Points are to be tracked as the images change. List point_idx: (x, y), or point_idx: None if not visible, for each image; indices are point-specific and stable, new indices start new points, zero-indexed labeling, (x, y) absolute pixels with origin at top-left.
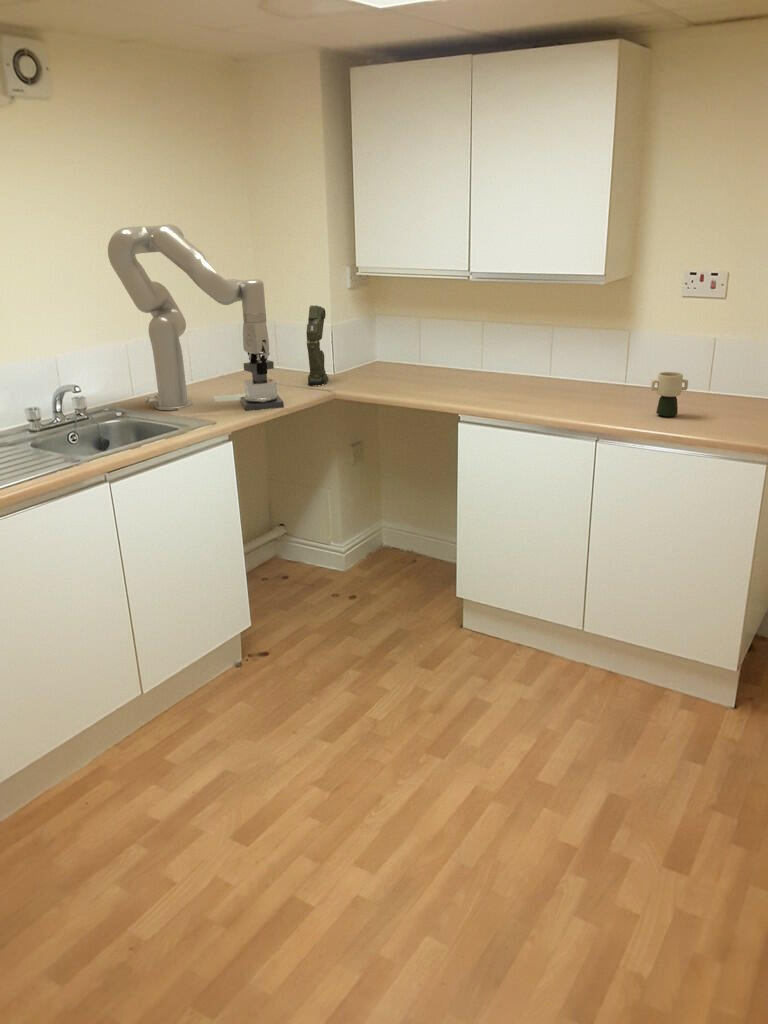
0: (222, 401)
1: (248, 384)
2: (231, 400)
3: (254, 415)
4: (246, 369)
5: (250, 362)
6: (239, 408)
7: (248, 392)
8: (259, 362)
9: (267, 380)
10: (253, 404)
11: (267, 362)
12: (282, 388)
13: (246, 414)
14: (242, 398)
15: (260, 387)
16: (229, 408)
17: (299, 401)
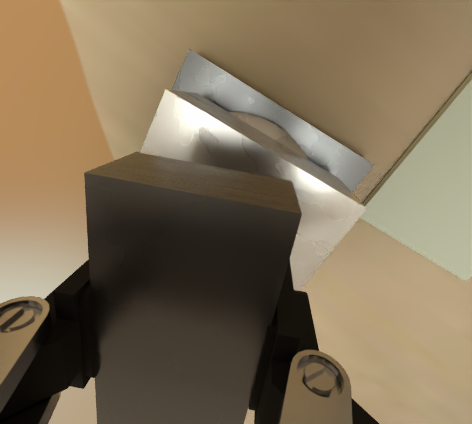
0: (462, 91)
1: (180, 108)
2: (427, 141)
3: (81, 23)
4: (222, 172)
5: (253, 304)
6: (271, 73)
7: (182, 91)
8: (41, 307)
9: None
10: None
11: (97, 392)
12: (396, 407)
13: (128, 6)
14: (337, 152)
15: None
16: (319, 33)
17: None
